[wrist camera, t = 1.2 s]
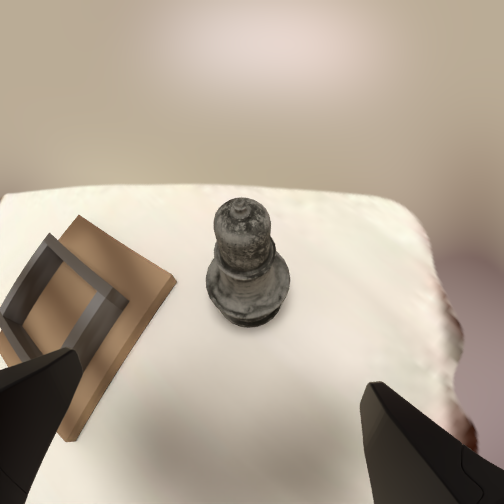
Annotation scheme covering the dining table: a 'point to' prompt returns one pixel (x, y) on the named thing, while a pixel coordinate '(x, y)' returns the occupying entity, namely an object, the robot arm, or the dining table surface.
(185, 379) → the dining table surface
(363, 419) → the robot arm
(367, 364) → the dining table surface
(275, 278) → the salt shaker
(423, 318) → the dining table surface
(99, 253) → the collar holder
